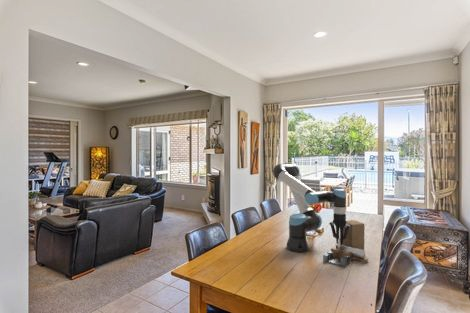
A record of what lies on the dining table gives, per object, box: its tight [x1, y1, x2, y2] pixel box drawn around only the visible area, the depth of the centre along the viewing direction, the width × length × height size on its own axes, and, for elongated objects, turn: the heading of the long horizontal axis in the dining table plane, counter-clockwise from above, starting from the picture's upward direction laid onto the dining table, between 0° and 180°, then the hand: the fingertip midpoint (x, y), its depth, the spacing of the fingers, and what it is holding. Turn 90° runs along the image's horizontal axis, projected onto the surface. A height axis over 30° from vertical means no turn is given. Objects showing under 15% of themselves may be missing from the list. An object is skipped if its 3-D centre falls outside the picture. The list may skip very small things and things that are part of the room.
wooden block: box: [342, 219, 365, 250], centre depth 179 cm, size 10×10×20 cm
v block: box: [322, 250, 351, 268], centre depth 162 cm, size 13×9×4 cm
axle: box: [339, 245, 366, 258], centre depth 167 cm, size 14×5×5 cm, turn 49°
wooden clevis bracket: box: [330, 243, 369, 264], centre depth 168 cm, size 20×11×5 cm, turn 49°
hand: (339, 249), depth 172 cm, fingers closed
